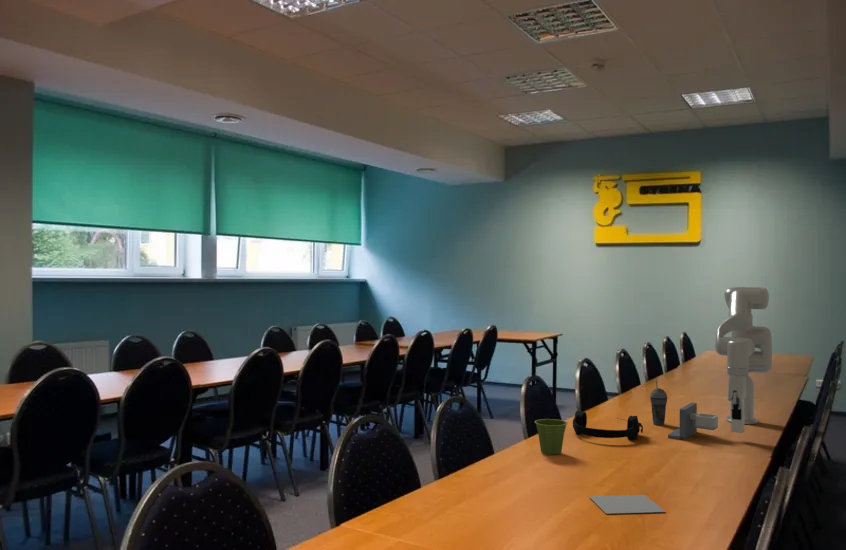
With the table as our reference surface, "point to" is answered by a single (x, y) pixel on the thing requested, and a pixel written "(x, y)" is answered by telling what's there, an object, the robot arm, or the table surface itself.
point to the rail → (738, 424)
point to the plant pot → (551, 435)
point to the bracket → (693, 422)
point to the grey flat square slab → (626, 504)
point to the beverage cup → (658, 405)
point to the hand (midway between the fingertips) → (737, 417)
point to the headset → (630, 432)
